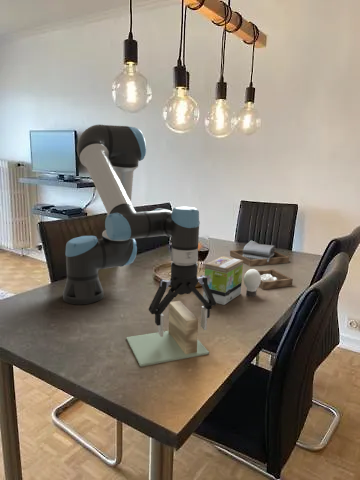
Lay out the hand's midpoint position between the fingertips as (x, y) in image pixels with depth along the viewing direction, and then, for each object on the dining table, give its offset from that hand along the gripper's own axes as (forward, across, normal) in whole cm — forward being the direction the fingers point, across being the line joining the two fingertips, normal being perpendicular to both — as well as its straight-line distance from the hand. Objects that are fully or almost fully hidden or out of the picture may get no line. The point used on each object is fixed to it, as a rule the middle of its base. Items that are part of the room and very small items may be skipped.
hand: (182, 331), depth 110 cm
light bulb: (+4, +41, +28) cm, 50 cm away
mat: (+4, -5, 0) cm, 6 cm away
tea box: (+4, +29, +30) cm, 42 cm away
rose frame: (+4, +57, +40) cm, 70 cm away
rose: (+4, +55, +38) cm, 67 cm away
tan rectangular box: (+3, 0, 0) cm, 3 cm away
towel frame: (+4, +74, +74) cm, 105 cm away
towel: (+3, +74, +74) cm, 105 cm away
